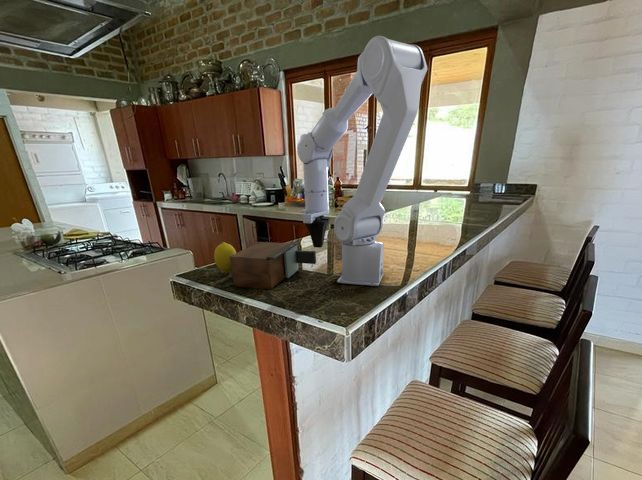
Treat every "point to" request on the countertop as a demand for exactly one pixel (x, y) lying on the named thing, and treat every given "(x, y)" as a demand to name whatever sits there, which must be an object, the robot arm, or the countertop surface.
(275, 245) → the cabinet
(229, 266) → the lemon
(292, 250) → the sliding door
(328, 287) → the countertop surface
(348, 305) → the countertop surface
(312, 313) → the countertop surface
